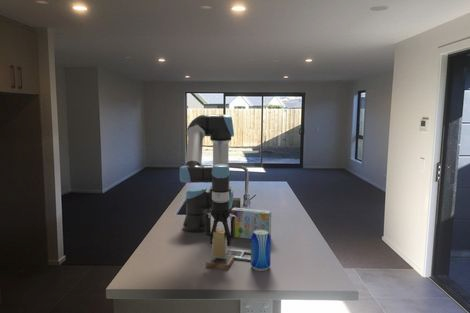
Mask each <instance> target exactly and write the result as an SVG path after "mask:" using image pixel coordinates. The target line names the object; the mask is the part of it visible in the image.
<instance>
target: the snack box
mask: <svg viewBox="0 0 470 313" xmlns="http://www.w3.org/2000/svg"><path fill="white" fill-rule="evenodd" d="M230 214H232V215H236V218H235V236H234V238H241V239H247V240H248V239H249V240H251V236H252V234H253V233H254V230H257V229H264V230H267V231H269V234H270V236H271V237H272V211H271V210H263V209H254V208H242V207H232V208H231V210H230Z"/></svg>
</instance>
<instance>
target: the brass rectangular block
mask: <svg viewBox="0 0 470 313" xmlns="http://www.w3.org/2000/svg"><path fill="white" fill-rule="evenodd" d="M226 238H227V237H226V233H225V229H224V228H217V227H216V230H215V231H214V232H213V252H212V254H213V256H214V257H222V258H224V257H225V256H226V255H227V254H225V239H226Z"/></svg>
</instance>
